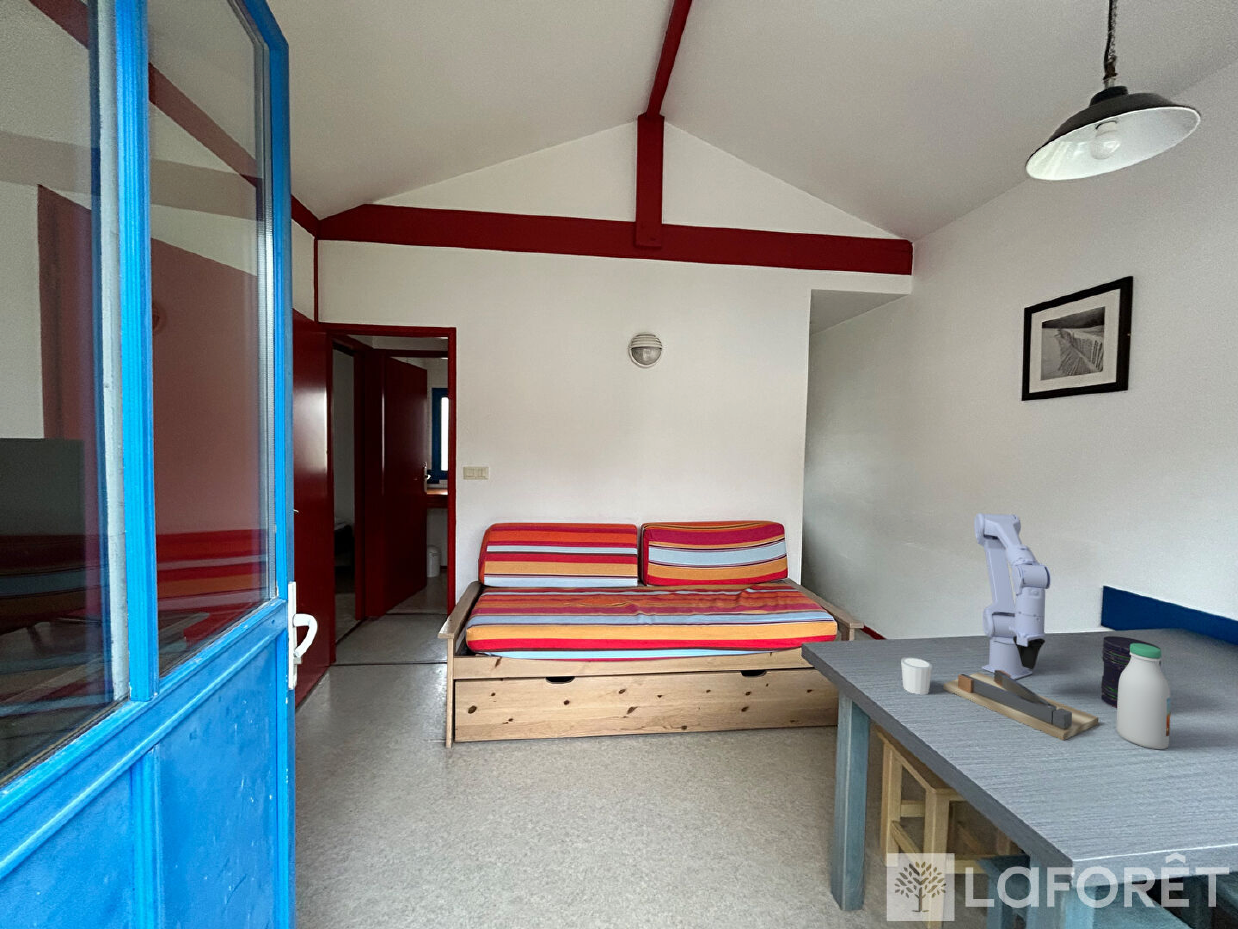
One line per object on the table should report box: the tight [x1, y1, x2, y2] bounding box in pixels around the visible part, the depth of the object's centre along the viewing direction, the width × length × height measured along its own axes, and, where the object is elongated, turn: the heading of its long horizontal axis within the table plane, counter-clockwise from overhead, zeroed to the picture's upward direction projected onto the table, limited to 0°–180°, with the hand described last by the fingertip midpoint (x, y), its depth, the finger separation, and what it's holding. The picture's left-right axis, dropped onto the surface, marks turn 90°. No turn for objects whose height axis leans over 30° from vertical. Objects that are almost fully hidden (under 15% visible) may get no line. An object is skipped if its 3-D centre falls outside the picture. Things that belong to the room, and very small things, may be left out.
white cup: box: [900, 657, 933, 696], centre depth 129 cm, size 7×7×7 cm
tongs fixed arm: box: [957, 673, 1072, 729], centre depth 118 cm, size 4×21×3 cm, turn 25°
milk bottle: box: [1116, 643, 1171, 750], centre depth 107 cm, size 8×8×20 cm
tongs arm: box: [993, 670, 1057, 710], centre depth 121 cm, size 2×19×3 cm, turn 176°
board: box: [943, 671, 1099, 741], centre depth 121 cm, size 15×25×2 cm, turn 25°
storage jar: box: [1100, 635, 1162, 709], centre depth 121 cm, size 10×10×15 cm
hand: (1028, 667), depth 126 cm, fingers closed
